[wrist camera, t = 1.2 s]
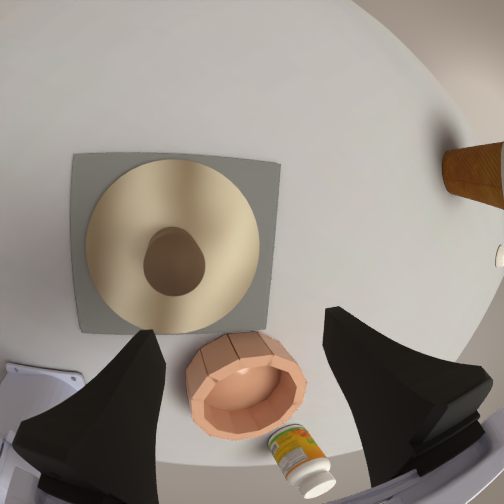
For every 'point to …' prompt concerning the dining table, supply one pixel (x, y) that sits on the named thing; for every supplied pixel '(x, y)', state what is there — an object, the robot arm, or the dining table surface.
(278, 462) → the supplement bottle
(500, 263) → the white tapered round cap
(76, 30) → the dining table surface
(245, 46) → the dining table surface
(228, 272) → the lid
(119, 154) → the mat
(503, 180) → the disposable coffee cup
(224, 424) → the bowl
